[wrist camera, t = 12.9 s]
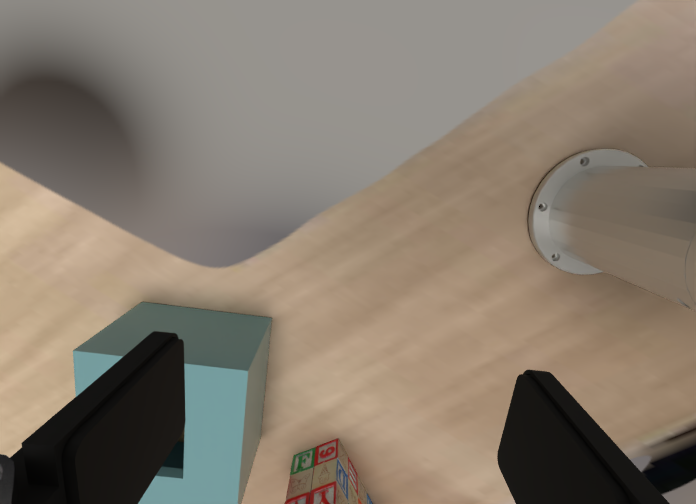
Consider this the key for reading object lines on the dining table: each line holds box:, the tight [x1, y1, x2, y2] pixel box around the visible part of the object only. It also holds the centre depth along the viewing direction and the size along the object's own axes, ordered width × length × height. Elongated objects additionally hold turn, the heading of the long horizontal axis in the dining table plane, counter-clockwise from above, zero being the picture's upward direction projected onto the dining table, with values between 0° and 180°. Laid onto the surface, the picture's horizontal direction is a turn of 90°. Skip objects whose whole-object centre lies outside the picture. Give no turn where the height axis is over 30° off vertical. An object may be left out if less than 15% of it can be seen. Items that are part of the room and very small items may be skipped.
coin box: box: [73, 302, 272, 504], centre depth 35 cm, size 14×16×10 cm
